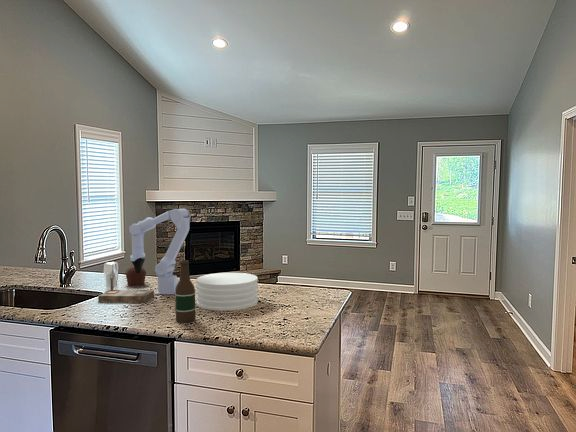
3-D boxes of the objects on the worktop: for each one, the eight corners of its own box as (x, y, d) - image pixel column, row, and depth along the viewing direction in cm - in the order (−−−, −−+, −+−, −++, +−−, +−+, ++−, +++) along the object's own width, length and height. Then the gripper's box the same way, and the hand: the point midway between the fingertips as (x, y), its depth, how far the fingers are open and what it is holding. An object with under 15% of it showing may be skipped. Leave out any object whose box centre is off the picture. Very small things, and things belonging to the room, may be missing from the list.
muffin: (121, 284, 243) (121, 266, 243) (141, 281, 251) (140, 264, 250) (130, 287, 234) (130, 269, 234) (150, 284, 242) (149, 266, 241)
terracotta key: (118, 297, 211) (118, 291, 211) (114, 299, 207) (114, 293, 207) (110, 297, 212) (110, 291, 211) (106, 299, 208) (106, 292, 207)
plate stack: (220, 293, 221) (219, 270, 221) (268, 299, 209) (268, 275, 208) (183, 306, 196) (183, 281, 196) (236, 313, 184) (236, 286, 183)
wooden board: (154, 296, 214) (153, 290, 214) (144, 302, 203) (144, 296, 202) (110, 296, 216) (110, 290, 215) (98, 302, 204) (98, 295, 204)
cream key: (146, 297, 211) (146, 291, 210) (143, 299, 207) (143, 293, 206) (138, 297, 211) (138, 291, 211) (135, 299, 207) (135, 293, 207)
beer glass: (113, 294, 220) (112, 264, 219) (101, 293, 221) (100, 264, 220) (121, 291, 226) (120, 262, 226) (109, 290, 228) (108, 261, 227)
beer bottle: (177, 317, 178) (176, 259, 176) (196, 317, 178) (195, 258, 177) (173, 323, 170) (172, 262, 169) (194, 323, 171) (193, 262, 169)
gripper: (135, 245, 232) (136, 270, 233) (124, 248, 218) (124, 275, 219) (148, 245, 232) (149, 270, 233) (138, 248, 217) (138, 275, 218)
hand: (138, 273), depth 226 cm, fingers closed
